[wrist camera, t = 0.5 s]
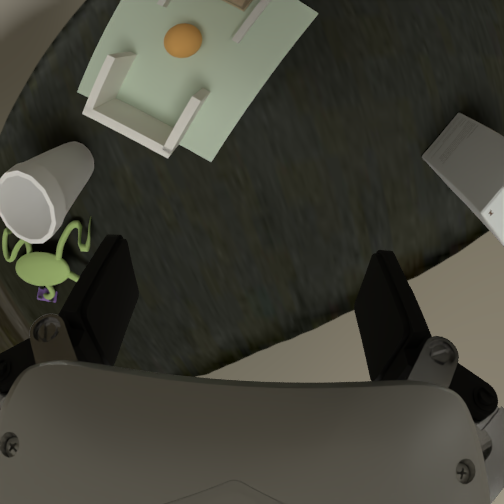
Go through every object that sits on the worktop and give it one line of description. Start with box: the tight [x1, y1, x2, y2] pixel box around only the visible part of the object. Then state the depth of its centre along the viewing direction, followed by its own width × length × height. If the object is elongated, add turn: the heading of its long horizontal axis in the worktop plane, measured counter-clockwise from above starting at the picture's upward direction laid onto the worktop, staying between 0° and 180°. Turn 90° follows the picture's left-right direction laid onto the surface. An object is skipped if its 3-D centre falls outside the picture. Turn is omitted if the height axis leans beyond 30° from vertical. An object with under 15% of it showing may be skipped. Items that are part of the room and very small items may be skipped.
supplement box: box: [422, 113, 504, 246], centre depth 29 cm, size 9×9×15 cm
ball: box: [164, 23, 202, 58], centre depth 27 cm, size 4×4×4 cm
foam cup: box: [0, 141, 94, 244], centre depth 33 cm, size 10×9×13 cm
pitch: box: [77, 0, 319, 162], centre depth 26 cm, size 22×20×7 cm
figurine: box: [2, 217, 91, 302], centre depth 48 cm, size 18×27×6 cm
